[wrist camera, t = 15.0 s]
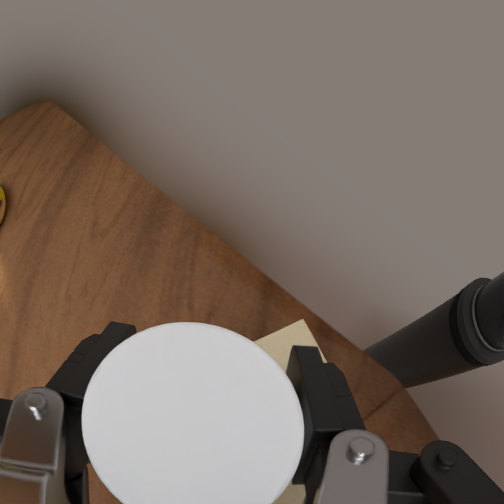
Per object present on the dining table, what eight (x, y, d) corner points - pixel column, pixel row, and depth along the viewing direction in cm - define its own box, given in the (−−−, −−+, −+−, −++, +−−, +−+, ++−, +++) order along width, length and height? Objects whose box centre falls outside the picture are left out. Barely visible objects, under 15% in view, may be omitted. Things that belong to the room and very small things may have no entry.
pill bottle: (273, 376, 13) (342, 322, 6) (256, 478, 11) (306, 557, 3) (166, 355, 13) (101, 275, 6) (144, 456, 11) (49, 498, 3)
